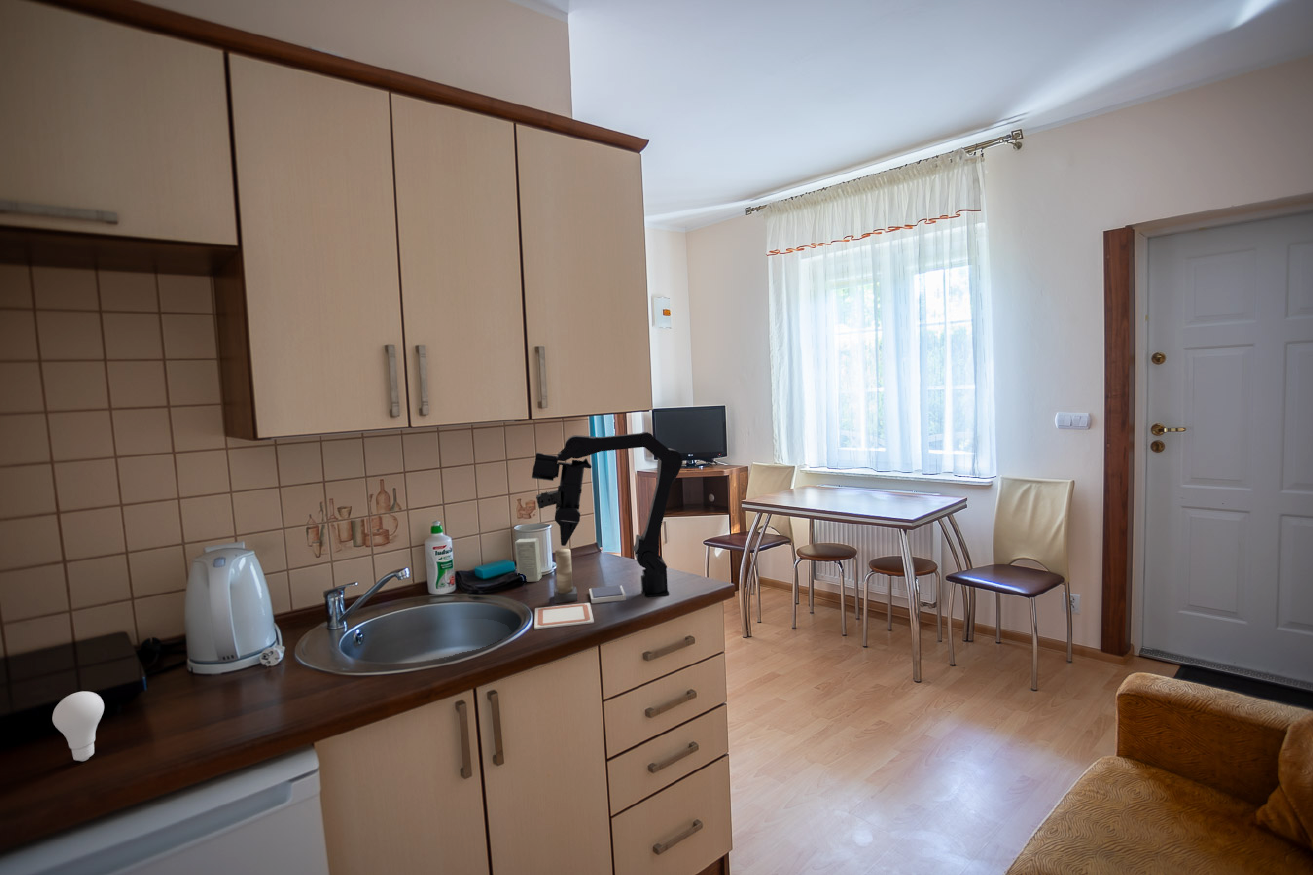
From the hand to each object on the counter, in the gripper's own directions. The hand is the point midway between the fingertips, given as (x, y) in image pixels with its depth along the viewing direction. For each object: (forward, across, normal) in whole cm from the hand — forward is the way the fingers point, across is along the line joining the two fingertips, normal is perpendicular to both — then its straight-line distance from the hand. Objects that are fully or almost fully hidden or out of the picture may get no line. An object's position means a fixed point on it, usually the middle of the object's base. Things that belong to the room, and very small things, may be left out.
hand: (563, 541), depth 169 cm
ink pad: (+14, -1, +14) cm, 19 cm away
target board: (+16, +12, +2) cm, 20 cm away
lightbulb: (+30, +58, -72) cm, 97 cm away
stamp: (+16, -2, +3) cm, 16 cm away
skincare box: (+18, -23, -8) cm, 30 cm away
